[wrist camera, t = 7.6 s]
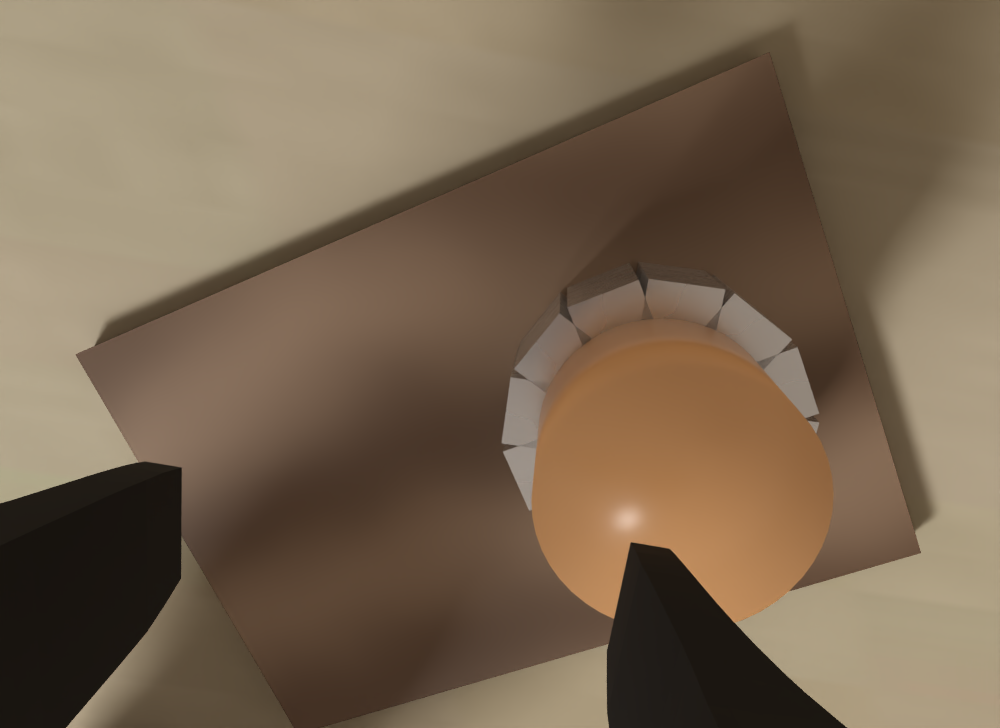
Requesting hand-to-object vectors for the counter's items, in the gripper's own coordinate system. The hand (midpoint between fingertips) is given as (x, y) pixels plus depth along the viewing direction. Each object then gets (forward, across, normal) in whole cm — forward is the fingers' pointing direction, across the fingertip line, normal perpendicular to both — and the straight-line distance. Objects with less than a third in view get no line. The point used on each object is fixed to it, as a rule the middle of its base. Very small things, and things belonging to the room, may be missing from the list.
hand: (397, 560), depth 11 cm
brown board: (+10, -1, +2) cm, 10 cm away
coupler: (+9, -5, 0) cm, 10 cm away
